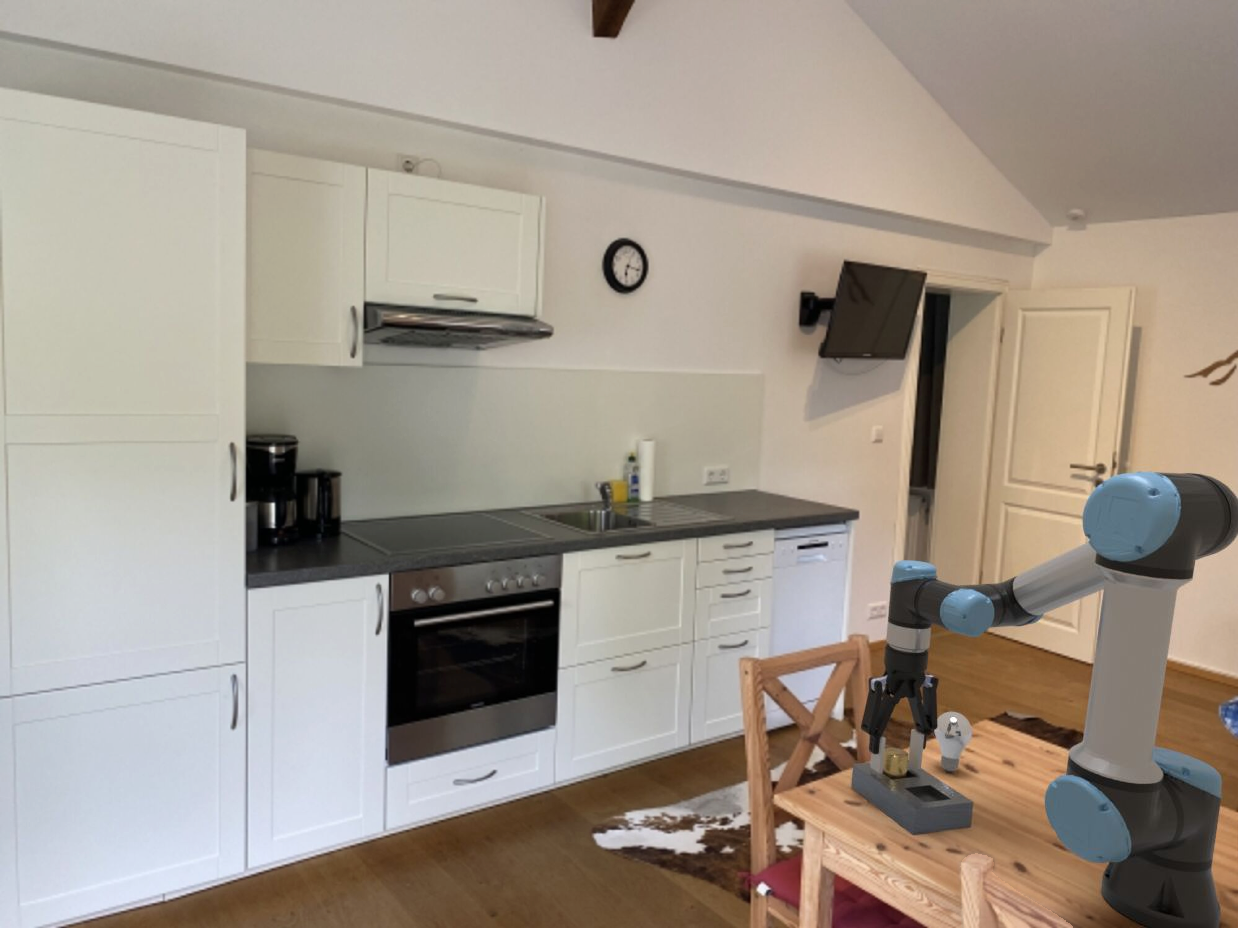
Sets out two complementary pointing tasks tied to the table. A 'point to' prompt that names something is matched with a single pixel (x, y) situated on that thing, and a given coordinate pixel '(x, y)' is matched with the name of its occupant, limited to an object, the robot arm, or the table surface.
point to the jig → (914, 799)
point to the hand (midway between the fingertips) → (895, 767)
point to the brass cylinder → (895, 763)
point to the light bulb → (952, 738)
